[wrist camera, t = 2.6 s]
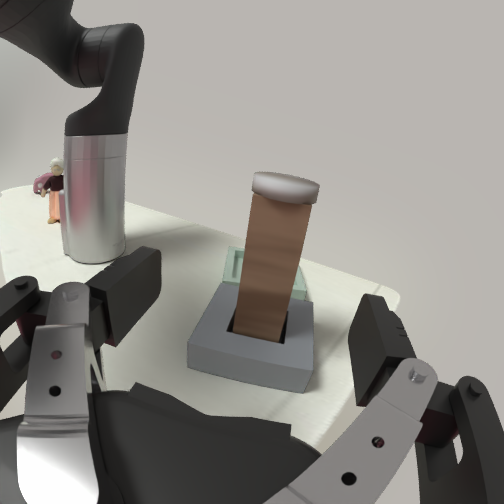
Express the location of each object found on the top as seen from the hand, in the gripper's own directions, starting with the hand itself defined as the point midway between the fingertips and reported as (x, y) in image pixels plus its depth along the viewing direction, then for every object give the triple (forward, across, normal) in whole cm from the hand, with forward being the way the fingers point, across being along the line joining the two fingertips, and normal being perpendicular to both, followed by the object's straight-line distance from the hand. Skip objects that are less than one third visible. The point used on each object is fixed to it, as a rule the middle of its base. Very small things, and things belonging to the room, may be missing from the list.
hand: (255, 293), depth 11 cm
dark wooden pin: (+12, 0, +12) cm, 17 cm away
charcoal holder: (+12, 0, +13) cm, 17 cm away
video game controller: (+45, +66, +12) cm, 81 cm away
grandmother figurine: (+29, +43, +12) cm, 53 cm away
